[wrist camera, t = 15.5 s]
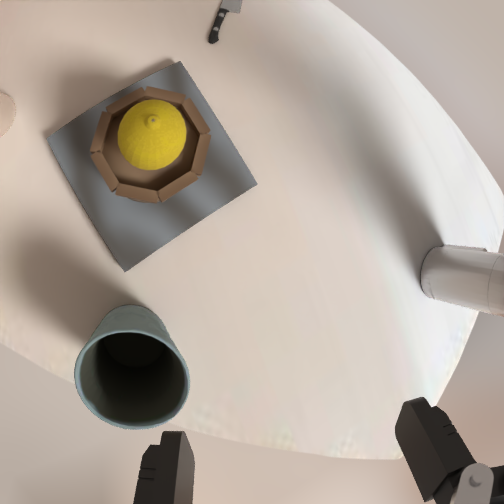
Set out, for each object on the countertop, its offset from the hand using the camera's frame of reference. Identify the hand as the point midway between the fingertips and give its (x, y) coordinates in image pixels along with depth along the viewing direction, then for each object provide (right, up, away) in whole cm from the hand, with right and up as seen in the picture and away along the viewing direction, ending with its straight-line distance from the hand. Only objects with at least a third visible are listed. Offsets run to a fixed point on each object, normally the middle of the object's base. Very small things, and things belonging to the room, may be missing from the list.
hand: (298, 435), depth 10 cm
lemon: (-11, +16, +17) cm, 26 cm away
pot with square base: (-13, +17, +24) cm, 32 cm away
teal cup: (-16, -4, +26) cm, 30 cm away
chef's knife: (-4, +43, +26) cm, 50 cm away
